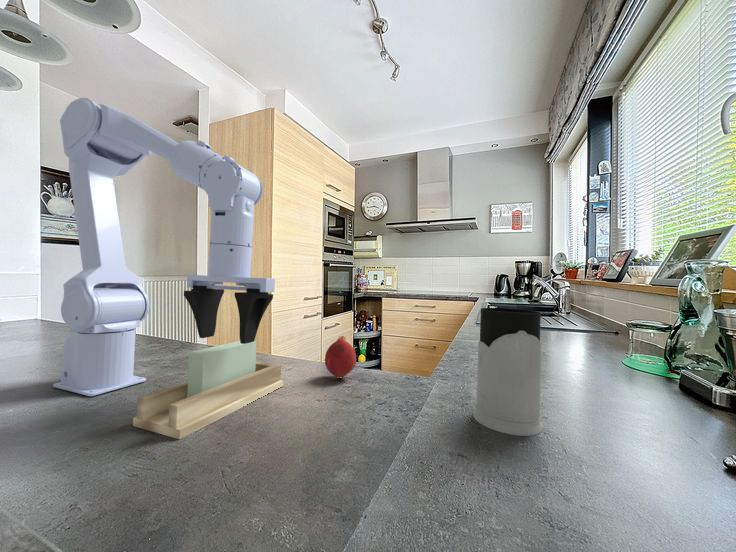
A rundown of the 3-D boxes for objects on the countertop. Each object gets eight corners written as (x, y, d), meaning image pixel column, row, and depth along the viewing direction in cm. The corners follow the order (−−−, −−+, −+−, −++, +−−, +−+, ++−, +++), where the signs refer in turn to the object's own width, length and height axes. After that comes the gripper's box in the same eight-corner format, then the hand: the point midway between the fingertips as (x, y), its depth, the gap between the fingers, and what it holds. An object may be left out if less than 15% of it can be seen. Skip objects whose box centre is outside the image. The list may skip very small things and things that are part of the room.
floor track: (133, 425, 36) (134, 396, 36) (247, 380, 54) (247, 360, 54) (179, 439, 34) (181, 407, 34) (283, 386, 52) (284, 365, 52)
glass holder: (484, 433, 38) (488, 311, 38) (456, 392, 52) (459, 304, 52) (557, 437, 38) (560, 314, 38) (509, 395, 52) (511, 306, 52)
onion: (350, 385, 53) (352, 339, 54) (319, 382, 55) (321, 337, 55) (358, 375, 59) (360, 334, 59) (330, 373, 60) (331, 332, 60)
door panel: (186, 405, 40) (189, 352, 40) (242, 383, 50) (244, 339, 50) (200, 409, 39) (203, 354, 39) (254, 385, 49) (256, 341, 49)
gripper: (289, 249, 46) (285, 340, 46) (215, 249, 51) (211, 331, 51) (257, 243, 40) (252, 349, 39) (175, 244, 45) (170, 337, 44)
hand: (226, 339), depth 45 cm, fingers open, 7 cm apart
